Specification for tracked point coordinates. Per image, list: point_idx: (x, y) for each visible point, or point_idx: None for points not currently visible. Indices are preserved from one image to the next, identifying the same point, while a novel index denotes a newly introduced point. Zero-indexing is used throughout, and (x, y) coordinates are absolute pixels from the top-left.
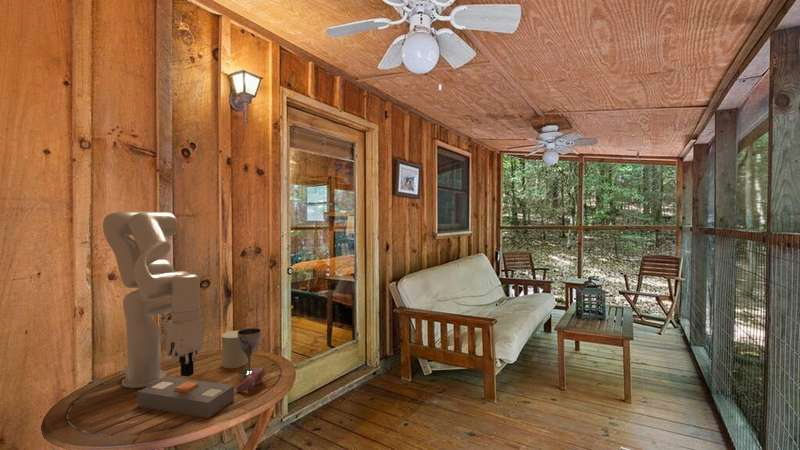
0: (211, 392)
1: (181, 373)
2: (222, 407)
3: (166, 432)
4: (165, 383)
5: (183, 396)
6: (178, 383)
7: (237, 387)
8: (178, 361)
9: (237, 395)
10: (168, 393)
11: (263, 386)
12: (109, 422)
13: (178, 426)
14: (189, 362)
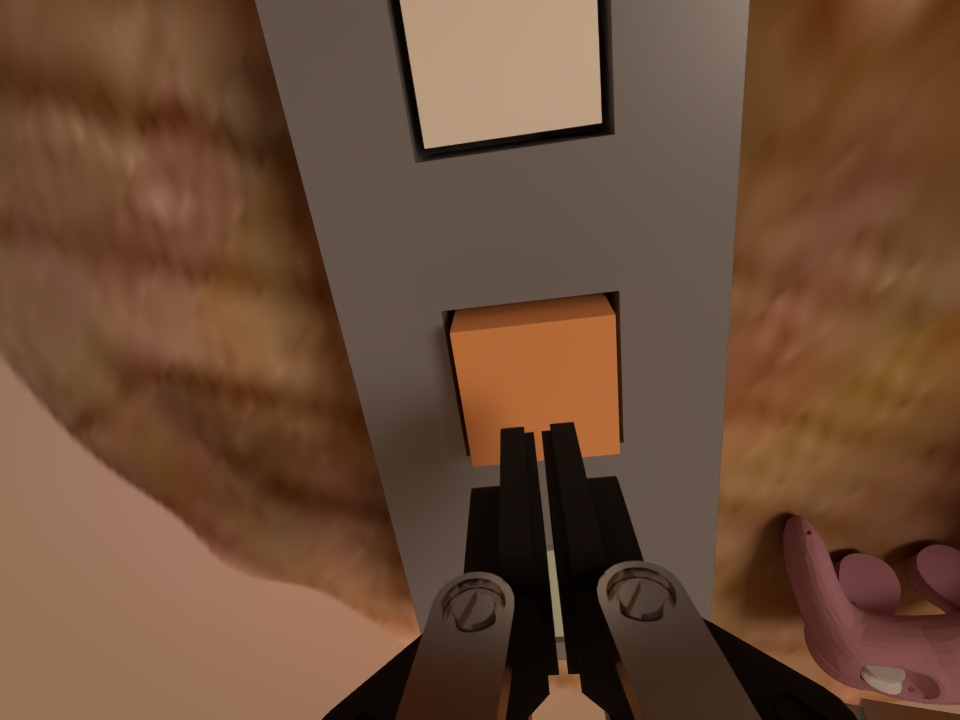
0: (557, 594)
1: (472, 489)
2: None
3: (233, 500)
4: (551, 21)
5: (412, 473)
6: (602, 194)
7: (799, 547)
8: (385, 673)
9: (739, 543)
10: (386, 311)
11: (903, 600)
12: (26, 11)
13: (304, 508)
14: (577, 649)
